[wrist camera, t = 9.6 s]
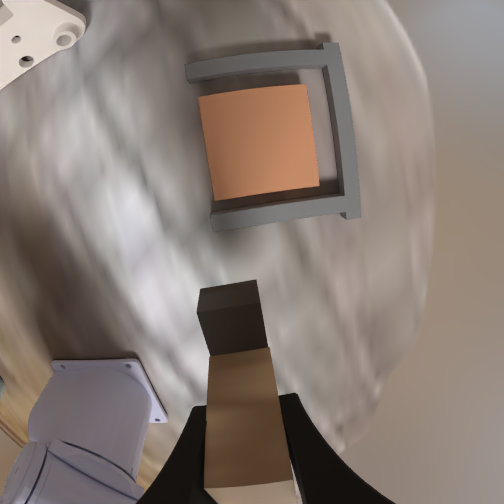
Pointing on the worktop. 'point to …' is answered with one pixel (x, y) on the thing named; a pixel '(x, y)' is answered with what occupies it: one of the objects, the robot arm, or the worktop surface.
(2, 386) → the spray paint can
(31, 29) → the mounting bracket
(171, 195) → the worktop surface
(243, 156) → the tile
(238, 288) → the two-tone stacked blocks
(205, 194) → the worktop surface
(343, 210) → the frame
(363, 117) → the worktop surface
